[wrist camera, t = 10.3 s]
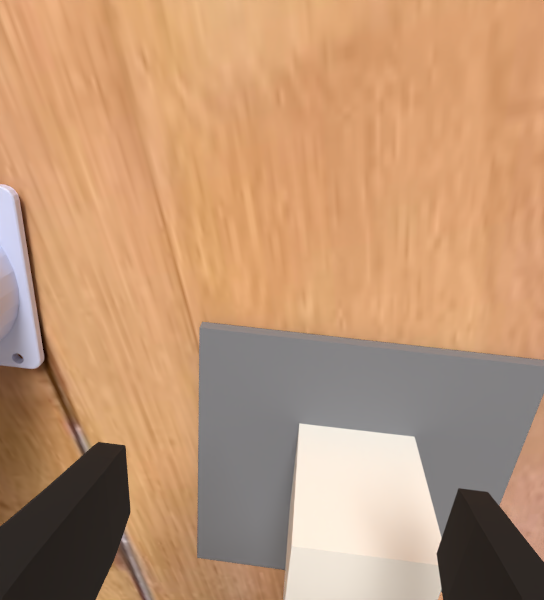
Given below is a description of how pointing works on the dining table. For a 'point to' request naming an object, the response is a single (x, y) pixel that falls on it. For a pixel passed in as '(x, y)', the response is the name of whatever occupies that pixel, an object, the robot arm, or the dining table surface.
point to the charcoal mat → (344, 423)
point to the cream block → (360, 519)
